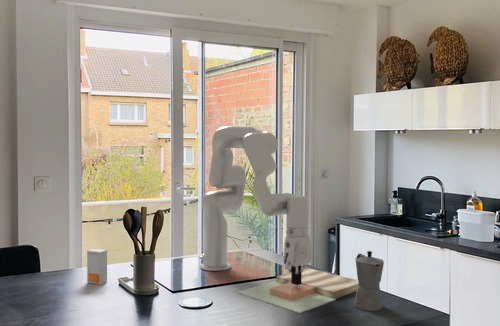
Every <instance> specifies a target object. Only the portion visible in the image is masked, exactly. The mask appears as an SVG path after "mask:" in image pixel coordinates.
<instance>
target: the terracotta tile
mask: <svg viewBox="0 0 500 326" xmlns="http://www.w3.org/2000/svg"><path fill="white" fill-rule="evenodd" d="M314 293H315V287H311V286H307V285H304V284H300V285H295V284H292V283H291V282H289V283H286V284H283V285H279V286H276V287H273V288H270V294H271V295H274V296H278V297H281V298H284V299H288V300H291V301H294V300H296V299H299V298H302V297H305V296H308V295H311V294H314Z"/></svg>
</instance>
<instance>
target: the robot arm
mask: <svg viewBox="0 0 500 326" xmlns="http://www.w3.org/2000/svg"><path fill="white" fill-rule="evenodd" d="M211 145H212V146H211V147H212V148H211V149H212V153H211V154H212V155H211V161H210V167H209V173H208V174H209V175H208V178H209V179H208V182H209V185H210V186H211V187H212V188H214V189H218V190H211V191H208V192H206V193H205V194H204V195H202V199H201V207H202V213H203V254H201V255H200V256H199V260H202V262H201V263H200V265H199V267H200V269H201V270H204V271H209V272H210V271H211V272H221V271H226V270H229V269H231V268H232V264H231V263H230V262H228V222H227V219H226V217H225V216H224V214H229V213H235V212H238V211H239V210H240V209H241V207H242V205H243V200H244V195H245V188H246V181H247V175H246V171H245V169H244V168H243V167H242V166H241V165H240V164H233V161H234V153H233V151H232V149H243V150H244V153H245V155H246V157H247V159H248V161H249V164H250V166H251V168H252V170H253V173H254V178H253V182H252V183H253V185H252V191H253V197H254V199H255V201H256V204H257V206H258V207H259V209H260V211H261V212H262V213H263V214H264V215H265V216H268V217H274V216H282V215H286V217H285V218H286V223H285V225H286V227H285V228H286V229H285V239H284V246H283V263H284V265H285V267H284V268H285V270H288V271H289V273H290V272H291V273H292V274H291V283H292V284H295V285H300V284H301V275H302V272H303V269H305V267H306V266H308V264H310V263H311V261H312V244H311V239H310V235H309V206H310V205H309V198H308V197H307V196H305V195H296V194H292V193H290V192H289V193H288V192H282V193H271V191H270V189H269V186H268V184H267V178H268V177H269V176H270V175H272V174H273V173H274V172H275V171H276V169H277V163H276V160H275V159H274V157H273V154H274V153H276V152H277V151H278V148H279V142H278V139H277V138H276V135H274V134H273V133H272V132H269V131H267V130H263V129H260V128H257V127H254V126H241V125H239V126H238V125H236V126H235V125H234V126H233V125H226V126H222V127H219V128H217V129H216V130H215V131H214V133H213V136H212V140H211Z"/></svg>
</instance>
